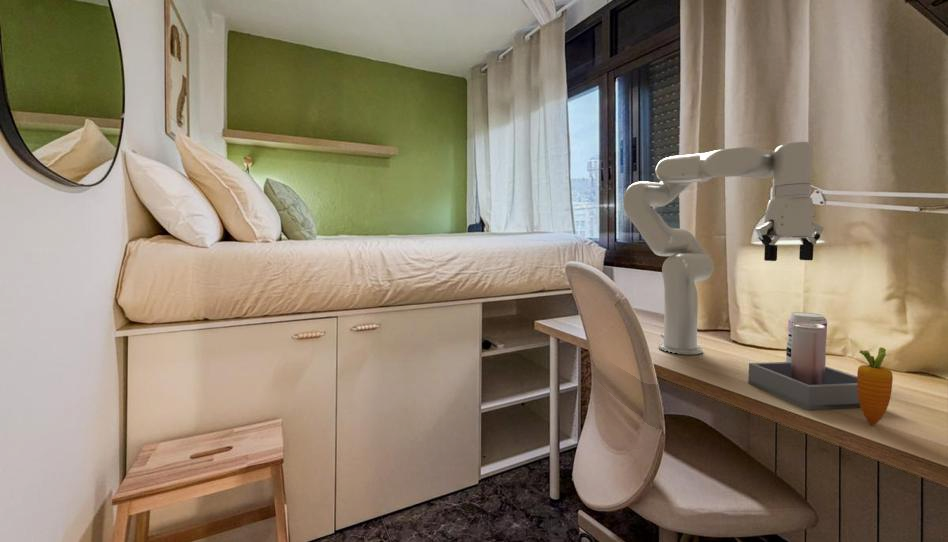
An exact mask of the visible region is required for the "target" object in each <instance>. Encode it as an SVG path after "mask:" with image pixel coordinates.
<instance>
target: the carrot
mask: <svg viewBox="0 0 948 542" xmlns="http://www.w3.org/2000/svg"><path fill="white" fill-rule="evenodd" d="M886 352H887V350H886V348H885V347H882V346H881V347H879V349H878V353H877V356H876V358H875V356H873V355H871V353H870V351H869V350H866V349H865V350H862V349H860V350H859V352H858V353H860V354H861V355H863V357H864V358H865V359H866V361H867V363H868V364H861V365H860V366H858V368H857V375H856V376H857V392H858V398H859V403H860V407H861V408H860V409H861V411H862V412H861V413H862V414H863V416H864V418H865V420H866V422H867V423H868V424H870V426H874V425H876V424H877V423H878V422H879V421H881V419H882V418H883V417H884V415H885V414H886V412H887V410H888V407H889V404H890V400H891V397H892V389H893V378H894V376H893V372H892V370H891V369H889V368H886V367H882V363H883V361H884V359H885V357H886V356H887V354H886Z"/></svg>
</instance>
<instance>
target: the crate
mask: <svg viewBox="0 0 948 542" xmlns="http://www.w3.org/2000/svg"><path fill="white" fill-rule="evenodd" d="M747 380H748V381H747V382H748V384H749V385H752V386H755V387H756V388H758V389H761V390H763V391H765V392H767V393H770V394H771V395H774V396H776V397H778V398H780V399H782V400H785V401H787V402H789V403H792V404H794V405H795V406H797V407H800V408H802V409H804V410H806V409H807V411H824V409H825V410H844V409H846V410H847V409H848V410H849V409H861V407H860V403H859V398H858V392H857V375H853V374H850V373H848V372H844V371H841V370H838V369H835V368H832V367H828V366H826V365H825V384H823V385H808V384H805V383H803V382H800V381H798V380H795V379H792V378H791V362H786V361H774V362H749V363H748V378H747Z"/></svg>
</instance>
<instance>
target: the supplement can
mask: <svg viewBox="0 0 948 542" xmlns="http://www.w3.org/2000/svg"><path fill="white" fill-rule="evenodd" d="M794 323H812V324H819V325H823V326H825V330H826V338H827V335H828V334H827V333H828V332H827V331H828V320H827V319H826V317H825V315H824V314H819V313H814V312H797V311H796V312H791V313H790V315H789V317H788V318H787V327H786V328H787V331H786V332H787V335H786V336H787V337H786V353H785V355H786V358H785V362H791V341H792V327H793V324H794Z"/></svg>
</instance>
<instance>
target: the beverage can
mask: <svg viewBox="0 0 948 542" xmlns="http://www.w3.org/2000/svg"><path fill="white" fill-rule="evenodd" d="M826 352H827V337H826V330H825V326H823V325H819V324H812V323H794V324H793V327H792V341H791V378H792V379H795V380H798V381H800V382H803V383H805V384H808V385H823V384H825V366H826V364H827V363H826V361H827V359H826V356H827V353H826Z"/></svg>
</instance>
